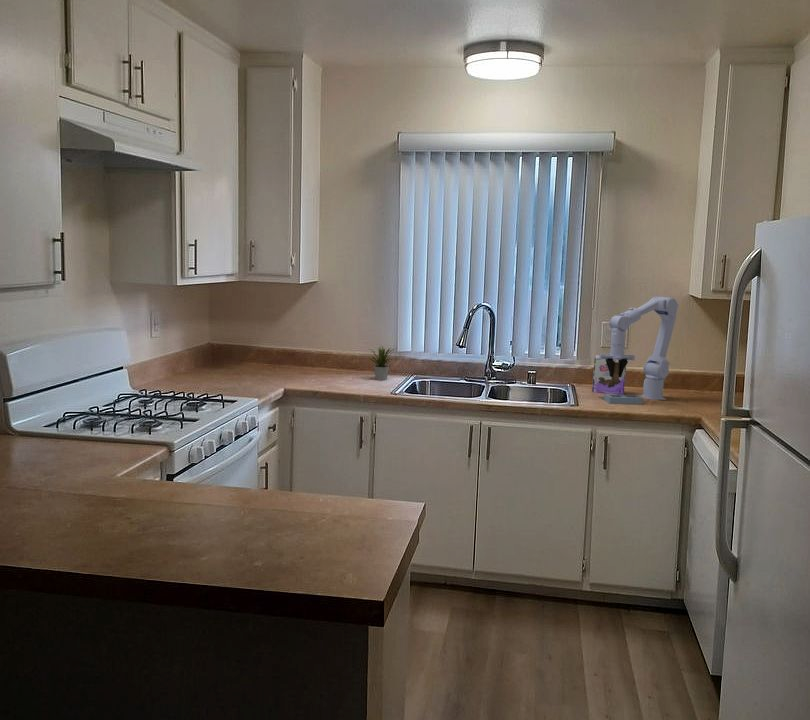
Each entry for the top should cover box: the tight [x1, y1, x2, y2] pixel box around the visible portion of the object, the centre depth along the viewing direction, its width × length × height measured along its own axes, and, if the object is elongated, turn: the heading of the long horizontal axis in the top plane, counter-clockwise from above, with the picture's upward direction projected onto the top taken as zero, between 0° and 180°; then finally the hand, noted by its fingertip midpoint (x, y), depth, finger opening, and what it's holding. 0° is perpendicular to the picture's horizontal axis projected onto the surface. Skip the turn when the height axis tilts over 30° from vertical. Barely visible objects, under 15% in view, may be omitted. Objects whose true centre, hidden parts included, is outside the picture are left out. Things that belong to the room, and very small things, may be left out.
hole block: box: [603, 393, 644, 405], centre depth 336 cm, size 7×14×3 cm, turn 94°
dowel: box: [611, 362, 620, 384], centre depth 338 cm, size 3×3×9 cm
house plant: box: [369, 345, 395, 381], centre depth 372 cm, size 14×14×16 cm
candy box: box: [591, 354, 627, 395], centre depth 358 cm, size 14×6×16 cm, turn 73°
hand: (615, 376), depth 338 cm, fingers closed on dowel, 3 cm apart
